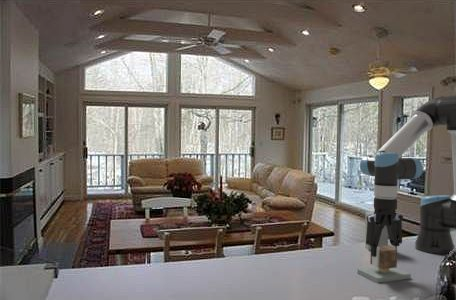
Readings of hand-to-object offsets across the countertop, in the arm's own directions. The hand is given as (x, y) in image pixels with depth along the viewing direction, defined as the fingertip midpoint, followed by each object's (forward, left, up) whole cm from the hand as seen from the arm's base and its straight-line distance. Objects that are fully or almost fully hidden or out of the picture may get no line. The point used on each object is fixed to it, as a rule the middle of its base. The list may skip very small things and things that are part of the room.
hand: (383, 264), depth 144 cm
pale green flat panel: (0, 0, -4) cm, 4 cm away
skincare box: (-21, -29, -4) cm, 36 cm away
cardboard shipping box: (0, 0, 0) cm, 0 cm away
